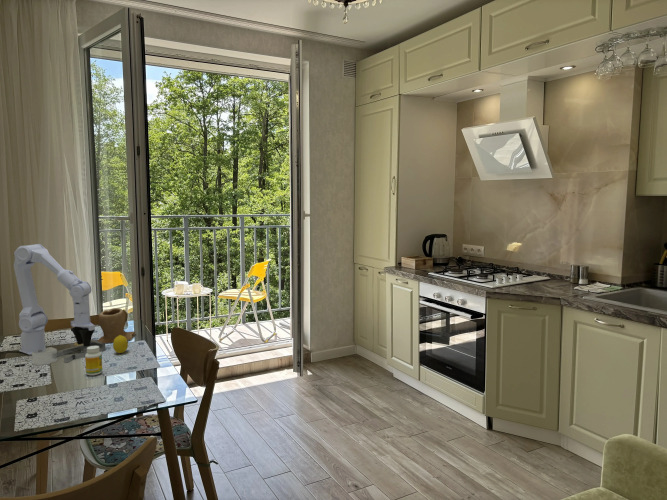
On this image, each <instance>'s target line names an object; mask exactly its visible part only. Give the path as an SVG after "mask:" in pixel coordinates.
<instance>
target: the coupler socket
mask: <svg viewBox="0 0 667 500" xmlns="http://www.w3.org/2000/svg"><path fill="white" fill-rule="evenodd" d="M90 346H99V352H101V351H102V352H105V351H107V350H106V349H107V348H106V344H105V343H102V342H99V341H98V340H95V339H92V338H91V341H90V345H89V346H85V347H84V345H79V346H75V345H74V346H72V347H67V348H64V349H60V350H57V357H61V356H64V355H67V354H69V355H67V356H65V357H63V360H64V361H63V362H64V364H68V363H70V362H72V361H73V360H79V359H82V358H85V357H84V356H85V355H86V354H87V353H88V352H87V350H84V349H87V348H88V347H90ZM81 350H83V351H81ZM77 351H80V352H77ZM74 352H77V353H74ZM102 352H101V353H102Z"/></svg>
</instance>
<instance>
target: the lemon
mask: <svg viewBox="0 0 667 500" xmlns="http://www.w3.org/2000/svg"><path fill="white" fill-rule="evenodd" d="M128 342H129V341H127V339H126V338H125V337H124V336H121V335H119V336H117V337H116V338H115V339H114V342H113V343H112V347H113V350H114V352H116V353H118V354H119V353H122V354H123V353H125V352H126V351H127V349H128V347H129V343H128Z"/></svg>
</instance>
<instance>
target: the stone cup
mask: <svg viewBox="0 0 667 500" xmlns="http://www.w3.org/2000/svg"><path fill="white" fill-rule="evenodd" d="M98 322H99V326H100V328H101V330H102V333H103V336H100V337H99V338H98V340H97V341H99V342H102V343H105V345H107V344H113V342H114V339H115V338H116V337H117V336H119V335H121V336H124V337H125V338H126V339H127V341H128V342H129V341H132V339H133V338H134V337H136V331H126V330H125V325H126V314H125V312H124V309H122V308H119V307H113V308H110V309H106V310H102V311H101V312H100V313H99V315H98Z"/></svg>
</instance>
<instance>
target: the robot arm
mask: <svg viewBox="0 0 667 500" xmlns="http://www.w3.org/2000/svg"><path fill="white" fill-rule="evenodd" d="M13 254H14V255H13V256H14V262H13V270H14V275H15V280H16V283H17V288H18V292H19V297H20V302H21V306H22V309H21V311H20V313H19V314H18V317H19V321H18V327H19V328H20V330H21V331H22V332H21V333H20V347H21V349H19V350H18V352H21V353H24V354H27V355H30V356H32V351H36V350H40V349H45V348H47V347H46V337H45V336H46V335H45V334H46V333H45V328H46V325H47V323H48V321H49V319H48V316H47V314H46V313H45V311H44V308H43V307H42V306H40V305H39V301H38V297H37V293H36V288H35V287H36V286H35V284H34V283H35V282H34V279H33V278H34V277H33V274H32V269H31V268H32V267H33V266H34V265H35V263H39V264H42V265H43V266H45V267H46V268H47V269H48V270H49V271H51V272H52V273H54V275H56V277H57V279H56V280H57V281H58V282H60V283H61V284H62V285H63V286H64V287H65V288H66V289H67V290H68V291H69V296H70V297H71V298H72V303H73V305H72V306H73V320H70V326H71V328H70V330H71V332H72V333H73V335H74V337H75V341H76V342H77V344H78V345H79V344H83V345H84V347H85V346H89V345H90V341H91V339H92V338H93V334H94V332H95V330H96V329H95V327H96V325H95V324H93V323H92V322H91V314H90V313H91V312H90V311H91V309H90V294H91V293H92V285H91V284H90V282H87V281H83V280H82V279H80V278H79V277H77V275H76V274H75V272H74V270H70V269H64V267H63V266H61V265H60V263H59V262H57V260H55V258H54V257H53V256H52V254H50V253H49V250H48V249H47V248H46V247H44V245H42V244H40V243H35V244H28V245H20V246H18V247H17V248H16V249H15V251H14V252H13Z"/></svg>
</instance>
